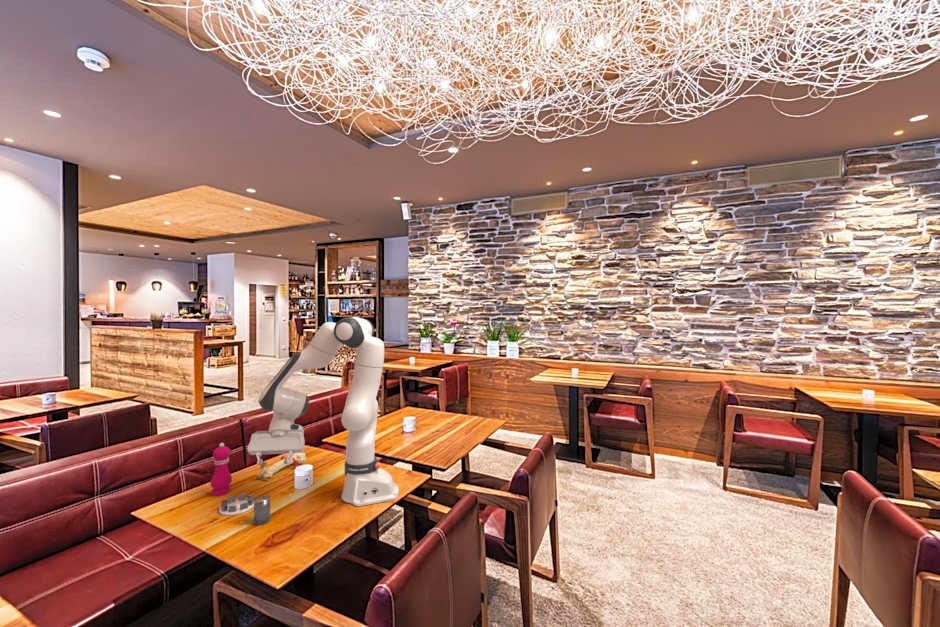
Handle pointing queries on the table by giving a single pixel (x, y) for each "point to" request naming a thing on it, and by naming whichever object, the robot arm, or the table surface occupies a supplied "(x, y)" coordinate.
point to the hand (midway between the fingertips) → (272, 463)
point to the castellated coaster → (236, 505)
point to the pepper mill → (221, 471)
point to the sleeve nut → (261, 510)
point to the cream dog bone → (280, 465)
